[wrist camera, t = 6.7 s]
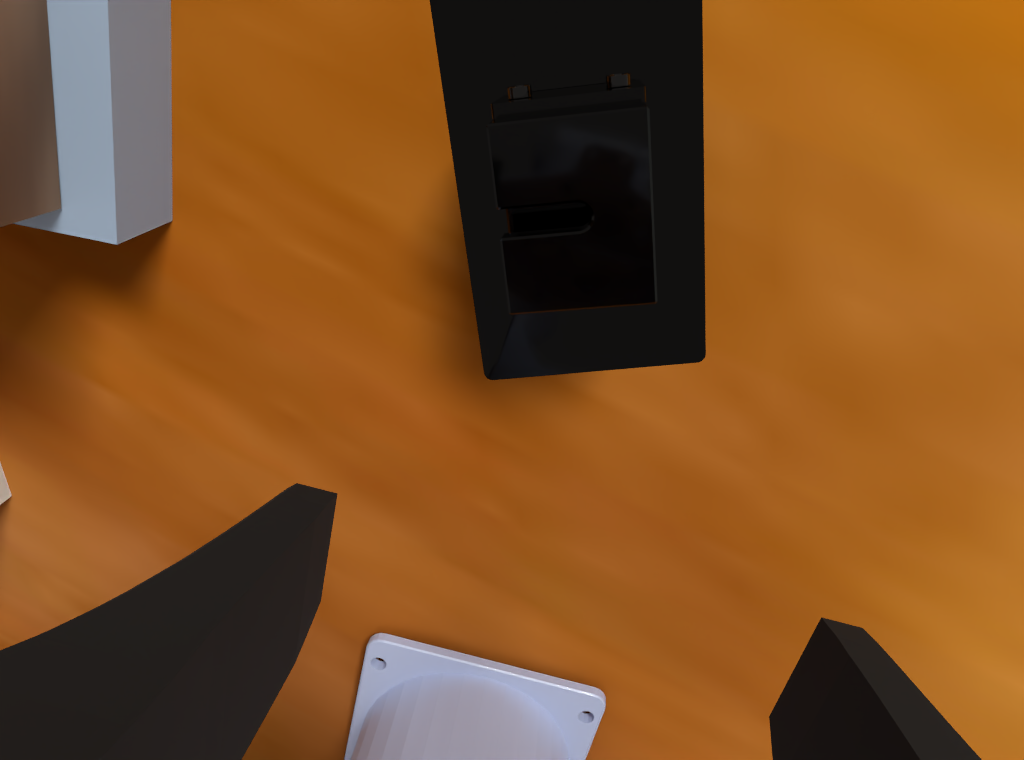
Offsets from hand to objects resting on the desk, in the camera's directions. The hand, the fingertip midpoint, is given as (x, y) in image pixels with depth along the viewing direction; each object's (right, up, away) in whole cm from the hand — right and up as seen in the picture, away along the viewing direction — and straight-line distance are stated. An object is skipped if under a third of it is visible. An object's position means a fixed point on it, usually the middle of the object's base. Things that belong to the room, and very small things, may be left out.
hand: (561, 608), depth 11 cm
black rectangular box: (+1, +9, +8) cm, 12 cm away
